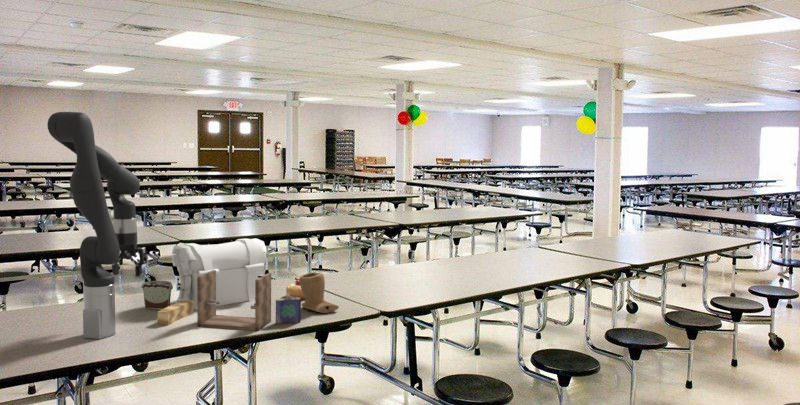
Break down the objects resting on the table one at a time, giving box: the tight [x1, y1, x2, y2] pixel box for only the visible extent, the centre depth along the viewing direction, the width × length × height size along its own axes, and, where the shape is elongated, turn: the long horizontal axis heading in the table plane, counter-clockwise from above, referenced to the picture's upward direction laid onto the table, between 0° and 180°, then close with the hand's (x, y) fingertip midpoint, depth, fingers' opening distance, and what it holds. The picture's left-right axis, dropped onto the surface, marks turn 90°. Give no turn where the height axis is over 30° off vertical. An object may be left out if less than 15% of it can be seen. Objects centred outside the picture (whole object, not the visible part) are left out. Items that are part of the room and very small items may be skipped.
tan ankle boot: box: [299, 271, 340, 314], centre depth 241 cm, size 15×12×15 cm
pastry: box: [285, 279, 305, 300], centre depth 262 cm, size 12×12×9 cm
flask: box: [275, 293, 302, 325], centre depth 223 cm, size 9×3×11 cm, turn 109°
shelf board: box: [157, 300, 194, 326], centre depth 226 cm, size 18×4×5 cm, turn 171°
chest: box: [171, 238, 267, 310], centre depth 253 cm, size 35×23×25 cm, turn 133°
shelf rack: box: [196, 270, 272, 332], centre depth 219 cm, size 12×23×18 cm, turn 81°
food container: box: [140, 280, 174, 310], centre depth 240 cm, size 12×6×10 cm, turn 84°
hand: (127, 275), depth 217 cm, fingers open, 8 cm apart
